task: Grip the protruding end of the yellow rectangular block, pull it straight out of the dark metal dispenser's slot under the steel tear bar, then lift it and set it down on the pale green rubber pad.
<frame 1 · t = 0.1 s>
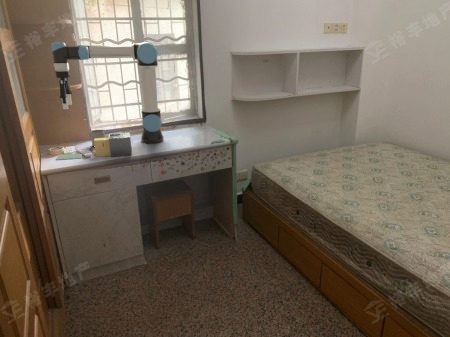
hand: (67, 106, 214), 28 cm above the table, fingers open, 13 cm apart
dispenser: (121, 153, 220), on the table
pad: (70, 156, 213), on the table
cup: (99, 146, 235), on the table
yellow rectangular block: (107, 154, 218), on the table
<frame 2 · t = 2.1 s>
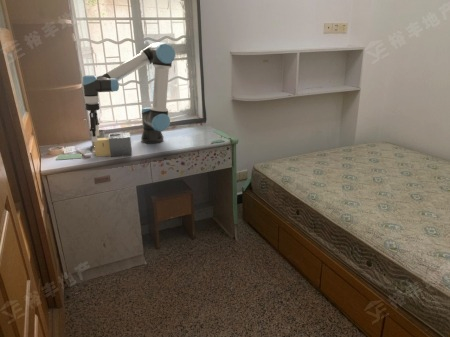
hand: (96, 138, 213), 10 cm above the table, fingers open, 13 cm apart
nothing on the table moved.
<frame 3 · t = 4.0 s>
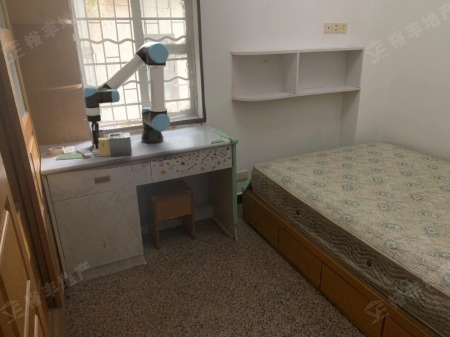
hand: (98, 152, 216), 2 cm above the table, fingers closed on yellow rectangular block, 5 cm apart
yellow rectangular block: (107, 154, 218), on the table, touching gripper
everything else where it was.
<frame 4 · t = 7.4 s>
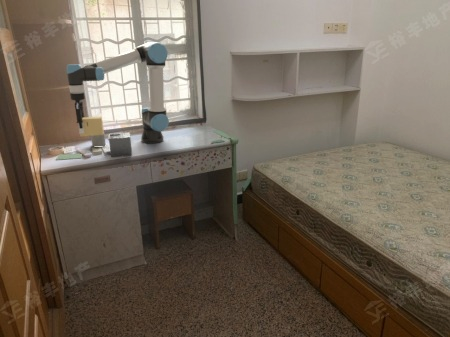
hand: (82, 132, 210), 15 cm above the table, fingers closed on yellow rectangular block, 5 cm apart
yellow rectangular block: (92, 134, 212), point 13 cm above the table, touching gripper
everything else where it was.
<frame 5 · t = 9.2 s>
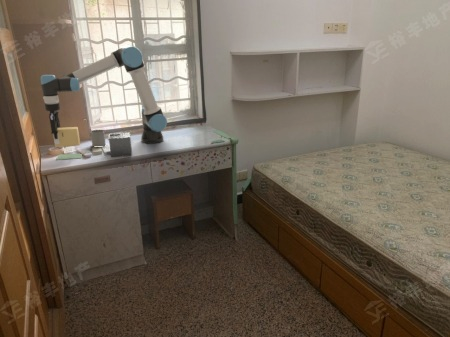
hand: (58, 142, 209), 9 cm above the table, fingers closed on yellow rectangular block, 5 cm apart
yellow rectangular block: (67, 144, 211), point 8 cm above the table, touching gripper
everything else where it was.
when the fingers open (3 cm above the table, at t = 10.9 s): yellow rectangular block stays where it is, resting on pad.
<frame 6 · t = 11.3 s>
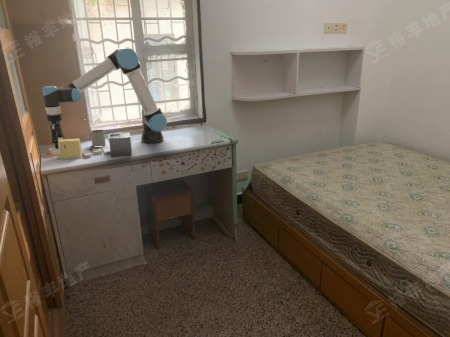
hand: (59, 150, 211), 4 cm above the table, fingers open, 10 cm apart
yellow rectangular block: (69, 156, 213), resting on pad
everything else where it was.
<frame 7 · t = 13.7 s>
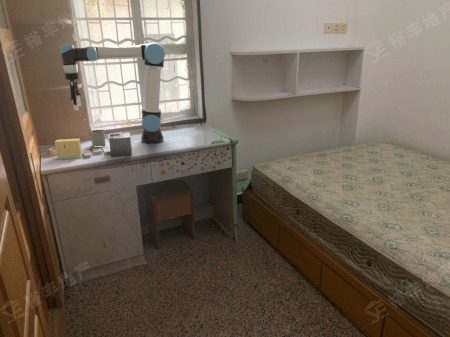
hand: (77, 108, 217), 27 cm above the table, fingers open, 13 cm apart
nothing on the table moved.
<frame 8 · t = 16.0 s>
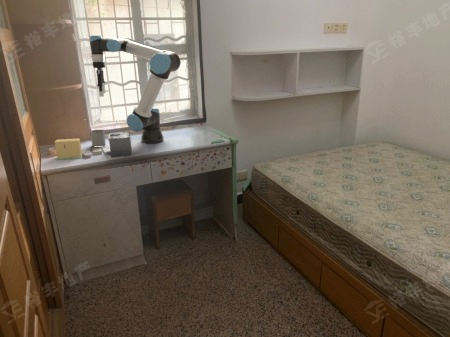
hand: (102, 94, 234), 32 cm above the table, fingers open, 13 cm apart
nothing on the table moved.
at the end: yellow rectangular block inside the target area (0.5 cm from its centre), resting on pad; yellow rectangular block tilted 0°; the gripper is holding nothing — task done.
